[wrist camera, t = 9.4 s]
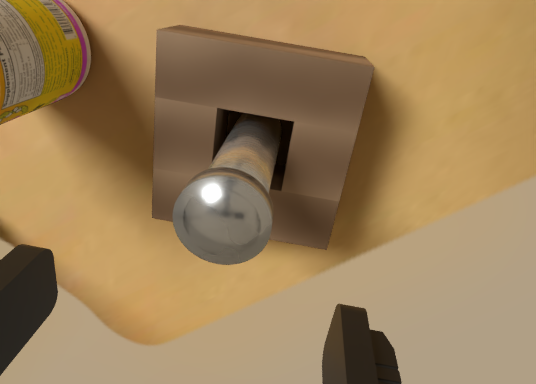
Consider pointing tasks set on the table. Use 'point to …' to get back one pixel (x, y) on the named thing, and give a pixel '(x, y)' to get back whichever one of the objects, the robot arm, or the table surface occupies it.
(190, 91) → the socket block
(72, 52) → the supplement bottle
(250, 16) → the table surface
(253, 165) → the pin
